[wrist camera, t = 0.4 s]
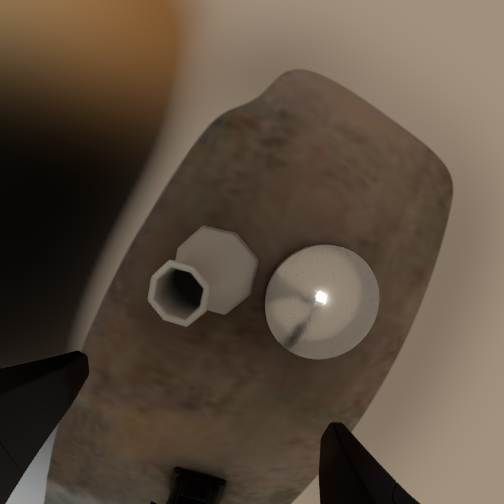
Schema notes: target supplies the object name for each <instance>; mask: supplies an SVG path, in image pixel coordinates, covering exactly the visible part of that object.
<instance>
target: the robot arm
mask: <svg viewBox="0 0 504 504" xmlns="http://www.w3.org/2000/svg"><path fill="white" fill-rule="evenodd" d="M88 375H89V365H88V357H87V355H86V354H84V353H82V352H80V351H73V352H70V353H66V354H61V355H58V356H53V357H49V358H45V359H41V360H37V361H32V362H28V363H24V364H19V365H15V366H10V367H5V368H0V504H5V503H6V502H7V500H8V498H9V497H10V495H11V493H12V492H13V490H14V489H15V487H16V485H17V484H18V482H19V481H20V479H21V477H22V476H23V474H24V473H25V471H26V469H27V468H28V466H29V465H30V463H31V462H32V460H33V459H34V457H35V456H36V454H37V453H38V451H39V450H40V448H41V447H42V446H43V444H44V443H45V441H46V440H47V438H48V437H49V435H50V434H51V433H52V431H53V430H54V428H55V427H56V426H57V424H58V423H59V421H60V420H61V419H62V417H63V416H64V415H65V413H66V412H67V410H68V409H69V408H70V406H71V405H72V403H73V402H74V400H75V398H76V396H77V395H78V393H79V391H80V389H81V388H82V386H83V384H84V382H85V381H86V379H87V377H88ZM225 486H226V481H224V480H221V479H216V478H212V477H208V476H205V475H201V474H197V473H194V472H190V471H187V470H184V469H181V468H177V467H175V468H174V470H173V474H172V480H171V486H170V495H169V497H168V500H167V502H166V504H218V502H219V500H220V497H221V495H222V493H223V491H224V488H225ZM319 488H320V504H420V503H419V502H418V501H416V500H415V499H414V498H413V497H412V496H411V495H409V494H408V493H407V492H406V491H405V490H404V489H403V488H402V487H401V486H400V485H399V484H398V483H396V481H395V480H394V479H393V478H392V476H390V474H389V473H388V472H387V471H386V470H385V469H384V468H383V467H382V466H381V465H380V464H379V463H378V462H377V461H376V459H375V458H374V457H373V456H372V455H371V454H370V453H369V452H368V451H367V450H366V449H365V448H364V447H363V445H362V444H361V443H360V442H359V441H358V440H357V439H356V438H355V437H354V435H353V434H352V433H351V432H350V431H349V430H348V429H347V427H346V426H345V425H344V424H343V423H341V422H331V423H330V424H329V425H328V427H327V429H326V430H325V432H324V433H323V435H322V437H321V444H320V463H319ZM150 504H156V503H155V502H152V501H151V503H150Z"/></svg>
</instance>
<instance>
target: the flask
mask: <svg viewBox="0 0 504 504" xmlns="http://www.w3.org/2000/svg"><path fill="white" fill-rule="evenodd" d="M259 261H260V260H259V259H258V258H257V256H256V255H255V254H254V253H253V252H252V250H251V249H250V248H249V247H248V246H247V244H246V243H245V242H244V241H243V240H242V238H241V237H240V236H239V235H238V234H237V233H235V232H231V231H227V230H223V229H218V228H214V227H209V226H205V225H203V226H201V227H200V228H199V229H198V230H197V231H196V232H195V233H193V234H192V235H191V236H190V237H189V238H188V239H187V240H186V241H184V242H183V243H182V244H181V245H180V246H179V247H178V249H177V254H176V259H175V261H174V260H169V261H167V262H166V263H165V264H164V265H163V266H162V267H161V268H160V269H159V270H158V271H157V272H156V273H154V274H153V275H152V276H151V281H150V288H149V294H148V302H149V303H150V304H151V305H152V307H153V308H154V309H155V310H156V312H157V313H158V314H159V315H160V316H161V318H162V319H163V320H165V321H168V322H172V323H175V324H178V325H182V326H185V327H187V326H189V325H190V324H191V323H192V322H194V321H195V320H196V319H197V318H199V317H200V316H201V315H202V314H204V313H205V312H206V310H208V311H212V312H216V313H220V314H223V315H226V314H227V313H228V312H230V311H231V310H232V309H233V308H235V307H236V306H237V305H238V304H240V303H241V302H242V301H243V300H245V299H246V298H247V297H248V296H250V295H251V294H252V290H253V286H254V282H255V277H256V273H257V269H258V265H259Z"/></svg>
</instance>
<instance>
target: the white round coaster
mask: <svg viewBox="0 0 504 504" xmlns="http://www.w3.org/2000/svg"><path fill="white" fill-rule="evenodd" d="M378 307H379V289H378V284H377V281H376V278H375V276H374V274H373V272H372V270H371V268H370V267H369V266H368V264H367V263H366V262H365V261H364V260H363V259H362V258H361V257H360V256H358V255H357V254H356V253H354V252H352V251H350V250H348V249H346V248H343V247H339V246H334V245H324V244H321V245H312V246H307V247H305V248H302V249H299V250H297V251H295V252H294V253H292V254H291V255H289V256H288V257H287V258H285V259H284V260H283V261H282V262H281V263H280V264H279V266H278V267H277V268H276V270H275V271H274V272H273V274H272V276H271V278H270V280H269V283H268V286H267V290H266V296H265V314H266V319H267V322H268V325H269V328H270V330H271V332H272V334H273V335H274V337H275V338H276V340H277V341H278V342H279V343H280V344H281V345H282V346H283V347H284V348H286V349H287V350H288V351H290V352H292V353H293V354H296V355H298V356H301V357H304V358H309V359H328V358H332V357H336V356H339V355H341V354H344V353H345V352H347V351H349V350H351V349H352V348H354V347H355V346H356V345H357V344H359V343H360V342H361V341H362V340H363V339H364V337H365V336H366V335H367V334H368V332H369V331H370V329H371V327H372V326H373V324H374V321H375V319H376V316H377V312H378Z"/></svg>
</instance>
